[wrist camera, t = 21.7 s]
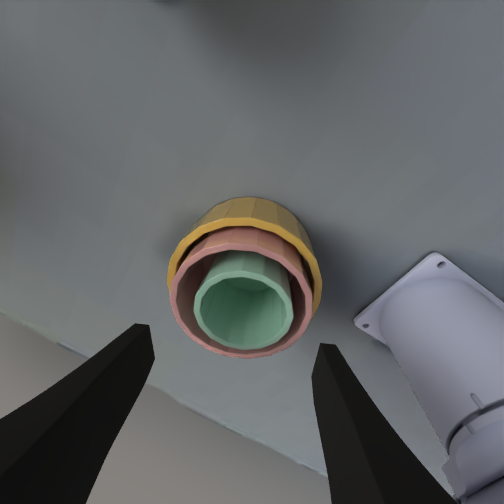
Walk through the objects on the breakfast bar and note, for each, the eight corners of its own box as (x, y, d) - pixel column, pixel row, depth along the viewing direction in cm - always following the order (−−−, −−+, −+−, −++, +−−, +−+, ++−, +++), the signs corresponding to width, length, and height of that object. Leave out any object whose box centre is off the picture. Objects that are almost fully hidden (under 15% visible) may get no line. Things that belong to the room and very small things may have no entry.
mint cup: (302, 256, 17) (314, 307, 12) (260, 302, 19) (255, 362, 14) (240, 214, 16) (226, 251, 11) (203, 268, 18) (177, 320, 13)
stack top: (322, 245, 17) (344, 296, 12) (262, 311, 20) (258, 375, 15) (233, 185, 16) (213, 211, 10) (183, 266, 19) (148, 319, 13)
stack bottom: (336, 243, 17) (356, 277, 13) (264, 320, 21) (262, 366, 17) (229, 169, 15) (214, 181, 11) (171, 267, 19) (144, 303, 15)
